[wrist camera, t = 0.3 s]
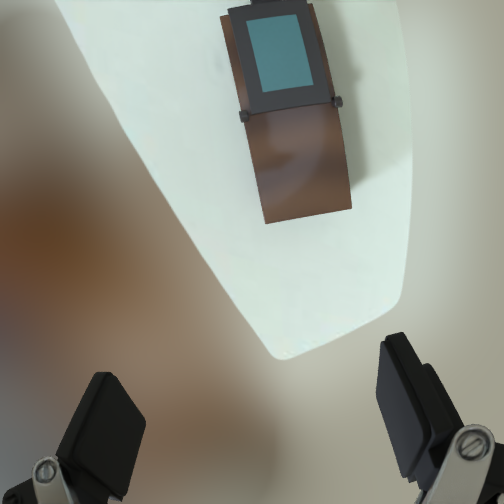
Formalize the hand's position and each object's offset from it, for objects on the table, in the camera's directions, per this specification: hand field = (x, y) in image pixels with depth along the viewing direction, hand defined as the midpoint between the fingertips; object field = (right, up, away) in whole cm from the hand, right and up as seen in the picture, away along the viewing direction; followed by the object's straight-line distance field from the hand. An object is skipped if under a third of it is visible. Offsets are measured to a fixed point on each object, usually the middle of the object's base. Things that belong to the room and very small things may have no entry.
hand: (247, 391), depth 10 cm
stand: (+4, +21, +24) cm, 32 cm away
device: (+3, +26, +16) cm, 31 cm away
